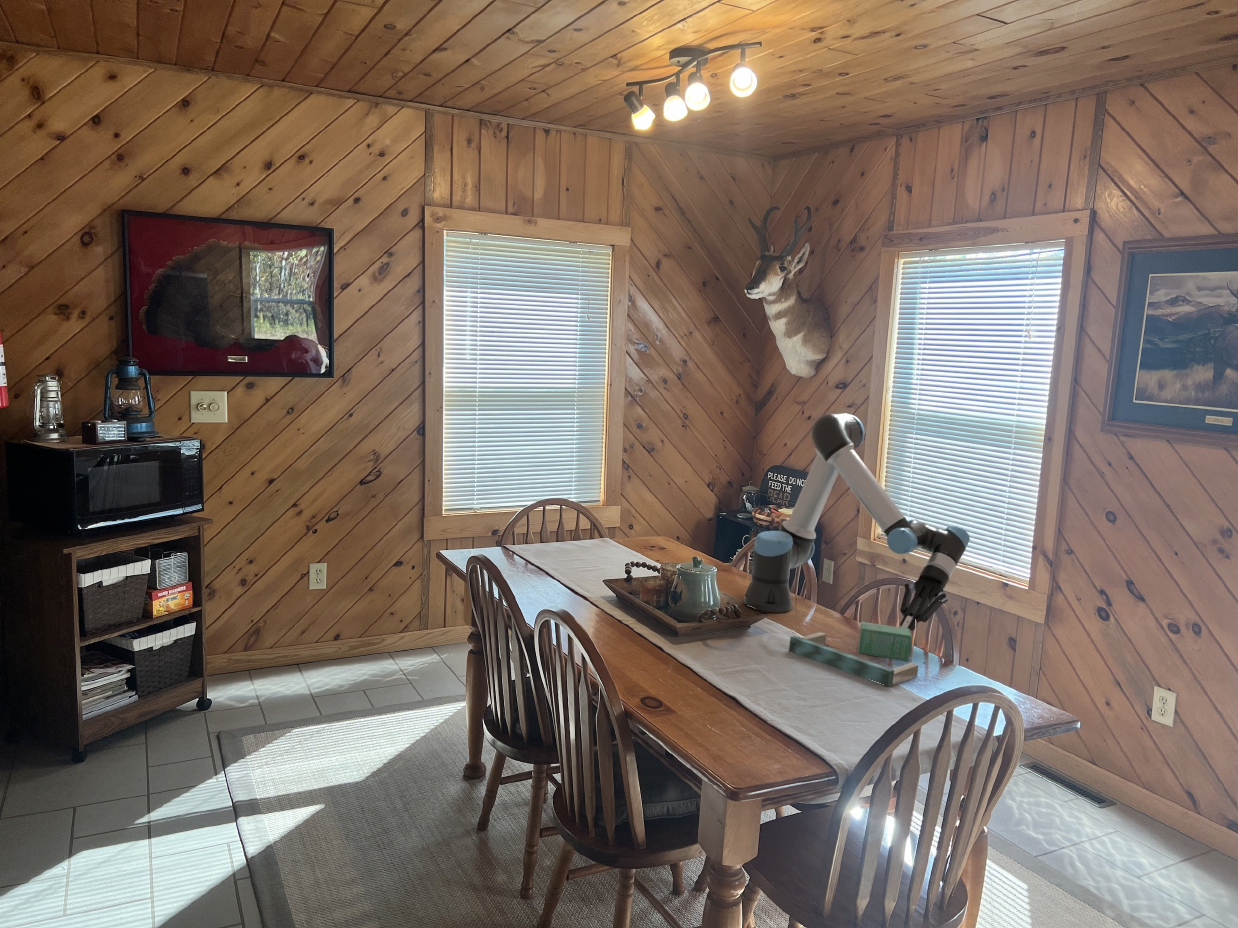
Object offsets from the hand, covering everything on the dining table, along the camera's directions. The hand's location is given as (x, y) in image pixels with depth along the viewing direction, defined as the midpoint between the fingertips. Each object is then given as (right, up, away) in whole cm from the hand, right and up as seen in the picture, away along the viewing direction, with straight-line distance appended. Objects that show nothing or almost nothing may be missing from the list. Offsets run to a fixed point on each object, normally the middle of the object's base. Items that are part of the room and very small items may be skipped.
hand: (901, 637), depth 246 cm
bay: (-18, -4, -15) cm, 24 cm away
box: (-6, -4, -5) cm, 9 cm away
